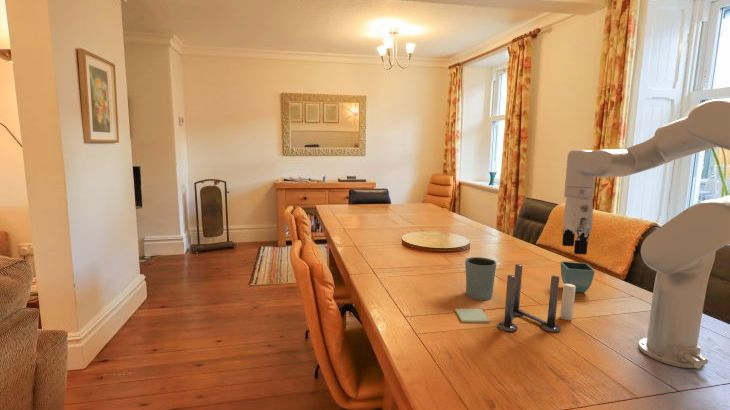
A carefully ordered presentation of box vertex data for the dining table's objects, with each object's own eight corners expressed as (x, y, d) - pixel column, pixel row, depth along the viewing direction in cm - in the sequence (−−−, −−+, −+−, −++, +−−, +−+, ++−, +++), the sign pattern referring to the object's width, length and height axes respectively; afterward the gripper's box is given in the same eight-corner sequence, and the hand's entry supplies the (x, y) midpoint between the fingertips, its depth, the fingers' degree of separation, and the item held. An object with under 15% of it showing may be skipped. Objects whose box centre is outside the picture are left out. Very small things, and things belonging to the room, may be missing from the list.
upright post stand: (564, 332, 105) (569, 280, 103) (501, 332, 105) (505, 279, 102) (539, 309, 120) (543, 263, 117) (484, 309, 120) (487, 262, 117)
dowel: (574, 320, 113) (577, 287, 111) (563, 320, 113) (566, 287, 111) (568, 315, 116) (572, 283, 114) (558, 315, 116) (561, 283, 114)
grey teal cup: (473, 302, 125) (475, 266, 123) (457, 290, 134) (459, 257, 133) (500, 299, 127) (503, 264, 126) (483, 288, 137) (485, 255, 135)
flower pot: (593, 295, 132) (595, 270, 131) (565, 293, 134) (567, 268, 132) (584, 286, 140) (586, 263, 139) (557, 284, 142) (560, 261, 141)
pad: (489, 322, 110) (489, 320, 110) (461, 322, 110) (461, 320, 110) (481, 310, 118) (481, 309, 118) (455, 310, 118) (455, 308, 118)
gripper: (606, 196, 103) (600, 258, 106) (581, 190, 120) (576, 243, 123) (576, 195, 105) (570, 257, 107) (555, 189, 121) (551, 242, 124)
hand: (573, 249), depth 115 cm, fingers open, 9 cm apart
